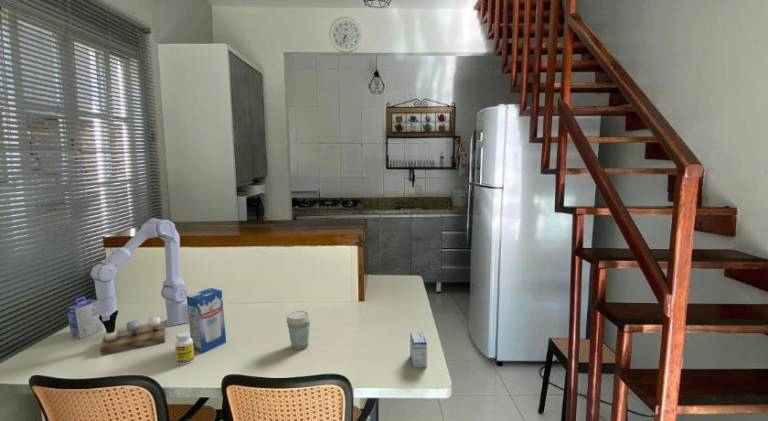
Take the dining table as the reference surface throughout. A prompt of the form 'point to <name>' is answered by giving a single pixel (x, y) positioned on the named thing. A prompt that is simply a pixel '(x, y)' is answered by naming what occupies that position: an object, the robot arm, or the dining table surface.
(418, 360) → the medicine box
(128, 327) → the middle knob
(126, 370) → the dining table surface
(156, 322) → the knob
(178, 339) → the supplement bottle
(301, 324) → the coffee cup
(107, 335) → the knob
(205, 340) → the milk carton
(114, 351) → the knob panel
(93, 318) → the ink cartridge box
